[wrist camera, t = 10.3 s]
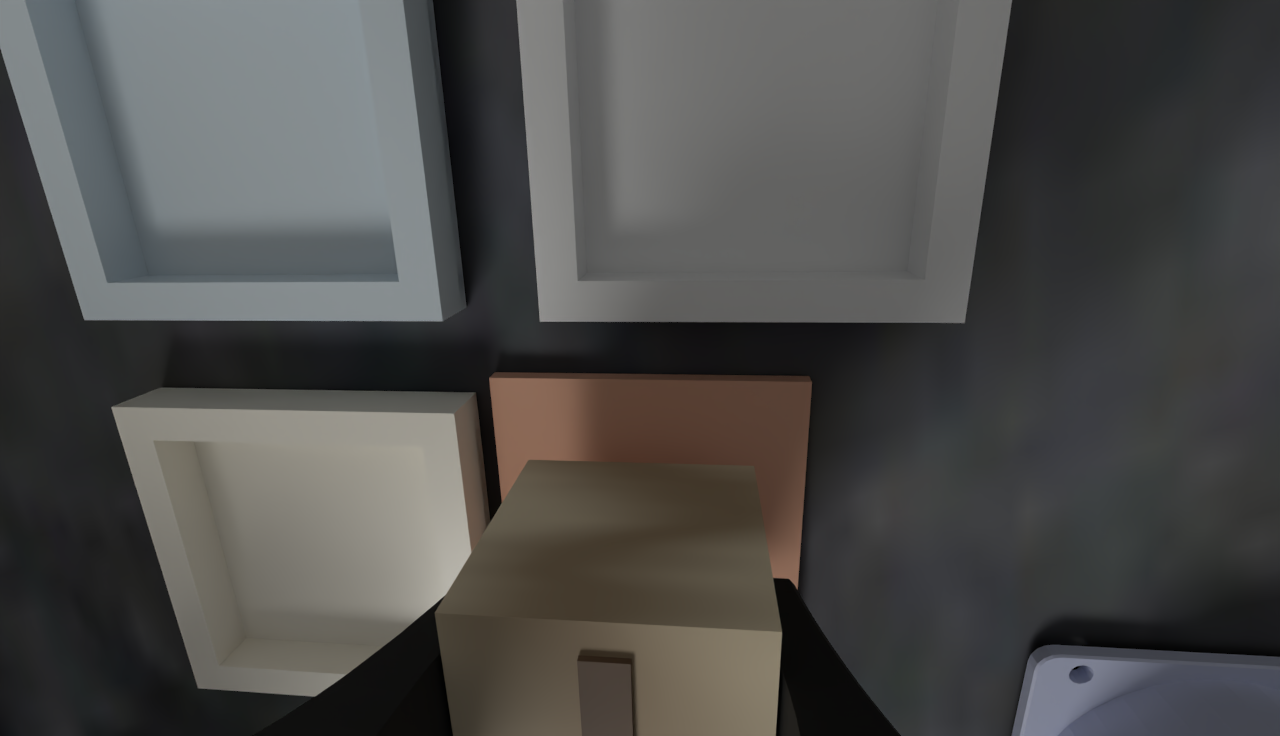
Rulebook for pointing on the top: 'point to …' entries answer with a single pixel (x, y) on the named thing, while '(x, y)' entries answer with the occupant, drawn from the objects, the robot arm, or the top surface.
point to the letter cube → (616, 607)
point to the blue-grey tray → (242, 156)
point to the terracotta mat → (666, 432)
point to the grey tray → (758, 157)
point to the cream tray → (303, 521)
